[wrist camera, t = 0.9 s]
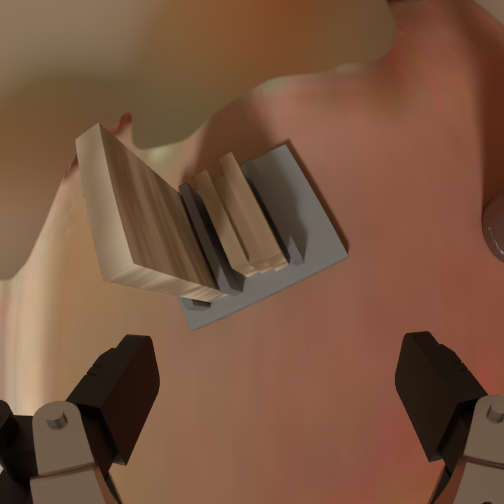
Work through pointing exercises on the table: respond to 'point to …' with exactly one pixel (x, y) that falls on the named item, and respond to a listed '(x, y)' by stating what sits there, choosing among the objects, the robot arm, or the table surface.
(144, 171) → the birch panel
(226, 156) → the pine offcuts
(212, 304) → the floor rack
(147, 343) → the robot arm
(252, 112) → the table surface
